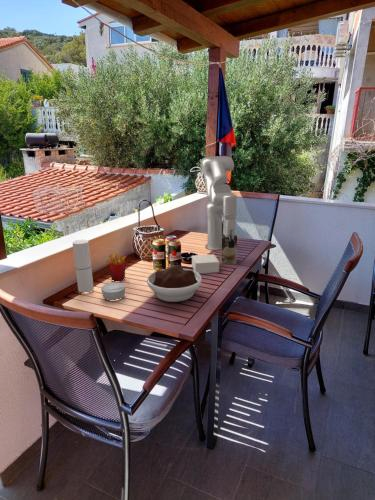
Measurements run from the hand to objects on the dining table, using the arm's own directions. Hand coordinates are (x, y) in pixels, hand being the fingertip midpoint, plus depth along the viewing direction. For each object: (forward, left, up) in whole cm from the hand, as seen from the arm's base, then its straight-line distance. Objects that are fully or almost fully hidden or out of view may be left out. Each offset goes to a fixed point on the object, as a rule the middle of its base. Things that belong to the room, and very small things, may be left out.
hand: (229, 245), depth 198 cm
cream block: (+7, -16, -11) cm, 20 cm away
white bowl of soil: (+40, -36, -11) cm, 55 cm away
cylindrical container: (+27, -78, -11) cm, 83 cm away
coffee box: (-1, 0, -11) cm, 11 cm away
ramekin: (+36, -64, -11) cm, 75 cm away
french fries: (+17, -63, -11) cm, 66 cm away
